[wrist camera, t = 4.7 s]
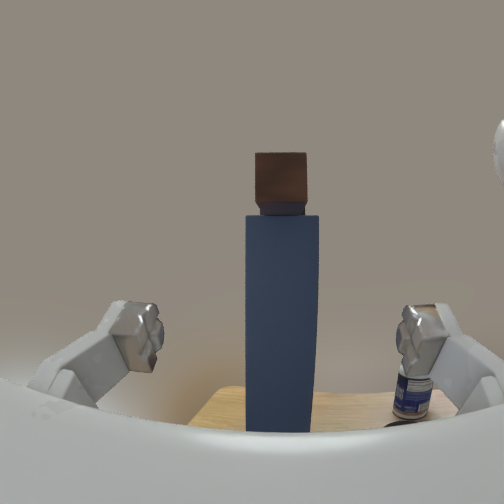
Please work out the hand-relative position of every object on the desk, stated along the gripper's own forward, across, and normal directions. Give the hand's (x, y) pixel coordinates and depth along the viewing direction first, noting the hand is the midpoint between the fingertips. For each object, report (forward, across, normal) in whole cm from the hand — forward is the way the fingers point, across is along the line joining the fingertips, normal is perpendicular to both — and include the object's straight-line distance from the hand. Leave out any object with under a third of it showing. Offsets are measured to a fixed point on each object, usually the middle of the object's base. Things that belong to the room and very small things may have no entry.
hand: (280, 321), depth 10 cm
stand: (+8, 0, +29) cm, 30 cm away
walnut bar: (+16, 0, +4) cm, 17 cm away
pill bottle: (+15, -19, +33) cm, 41 cm away
